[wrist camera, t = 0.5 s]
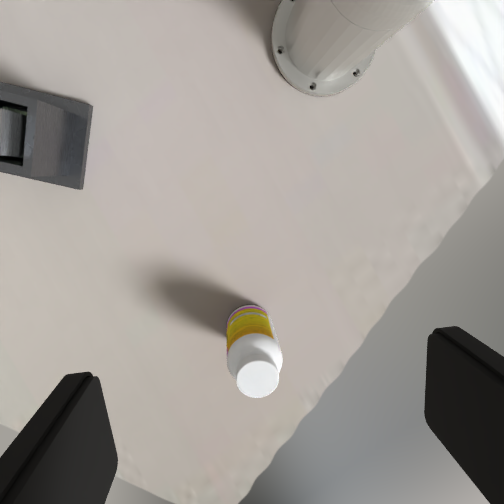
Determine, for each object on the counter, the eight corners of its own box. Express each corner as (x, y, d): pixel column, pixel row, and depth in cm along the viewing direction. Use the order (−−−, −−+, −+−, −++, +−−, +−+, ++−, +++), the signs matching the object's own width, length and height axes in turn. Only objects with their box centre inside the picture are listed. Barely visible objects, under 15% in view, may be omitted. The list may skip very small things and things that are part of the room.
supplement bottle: (218, 316, 47) (215, 368, 34) (259, 295, 47) (271, 341, 34) (239, 352, 49) (244, 415, 36) (279, 333, 48) (298, 389, 36)
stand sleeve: (3, 83, 38) (-63, 57, 29) (93, 106, 39) (54, 88, 30) (-2, 170, 40) (-66, 169, 31) (82, 189, 41) (44, 194, 33)
